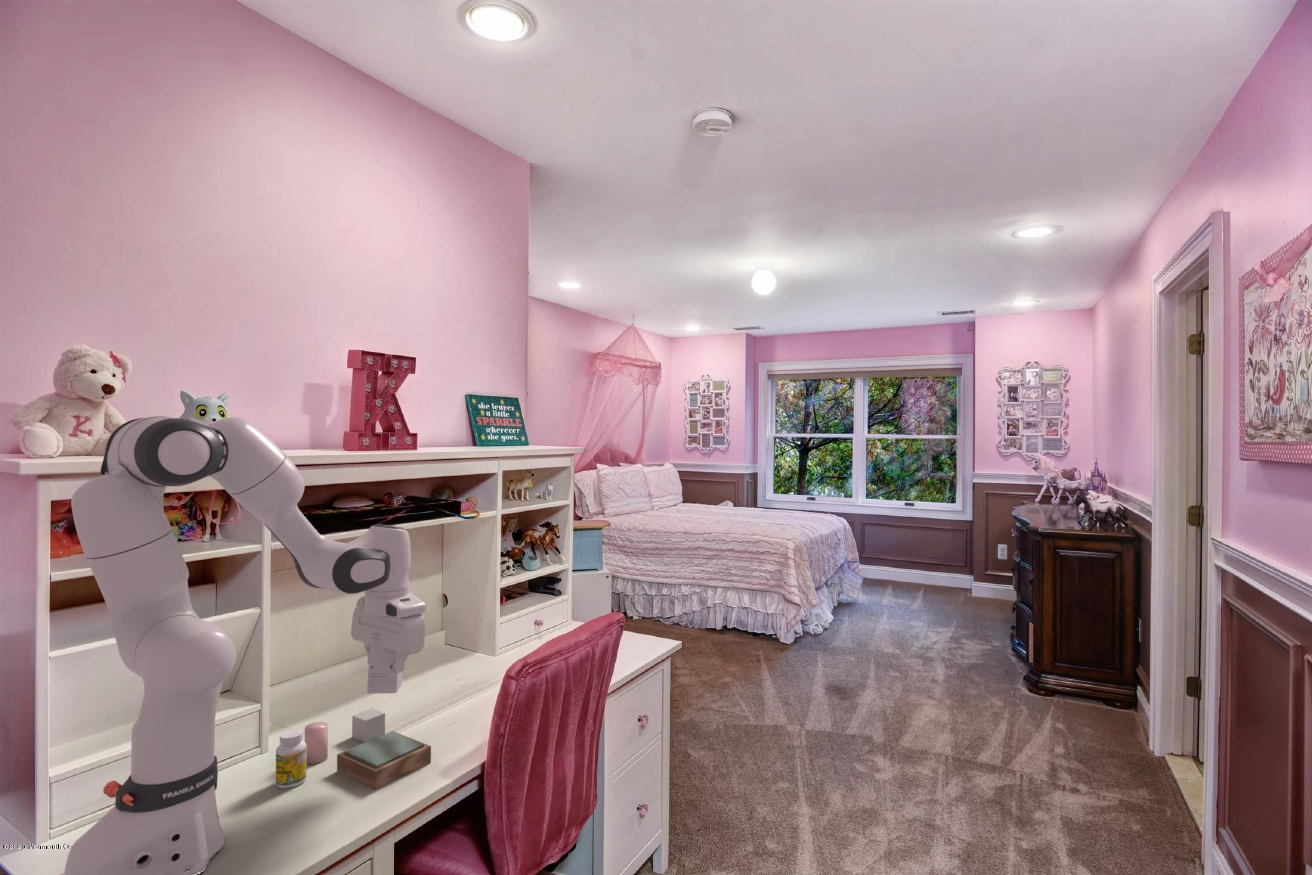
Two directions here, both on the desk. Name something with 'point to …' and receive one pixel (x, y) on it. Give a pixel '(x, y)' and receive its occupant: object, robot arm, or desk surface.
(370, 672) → the skincare box
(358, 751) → the tray
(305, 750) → the supplement bottle
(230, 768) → the desk surface
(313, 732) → the pink pillar
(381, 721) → the light gray block
